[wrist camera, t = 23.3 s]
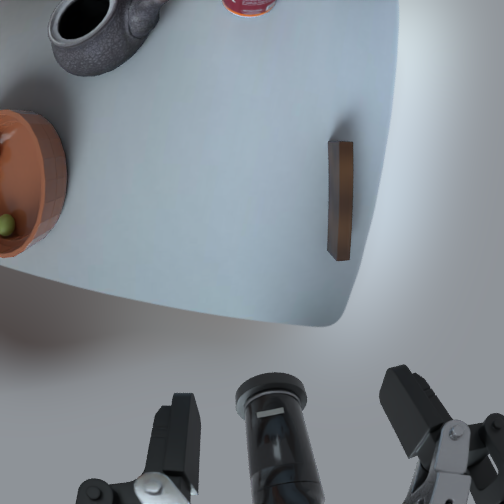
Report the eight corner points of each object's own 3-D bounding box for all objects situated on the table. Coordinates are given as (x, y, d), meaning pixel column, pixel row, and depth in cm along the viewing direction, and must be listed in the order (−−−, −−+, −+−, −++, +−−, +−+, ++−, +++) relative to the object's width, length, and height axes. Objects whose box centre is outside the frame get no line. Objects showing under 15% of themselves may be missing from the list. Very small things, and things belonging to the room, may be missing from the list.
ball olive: (5, 216, 29) (-4, 209, 26) (20, 219, 30) (12, 212, 27) (0, 236, 28) (-9, 231, 26) (15, 240, 29) (6, 235, 26)
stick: (327, 141, 30) (339, 141, 27) (340, 141, 30) (353, 141, 27) (327, 250, 35) (336, 261, 31) (339, 249, 35) (349, 260, 31)
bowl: (79, 237, 31) (58, 252, 26) (-7, 248, 30) (-28, 261, 25) (65, 94, 25) (41, 88, 20) (-22, 132, 24) (-46, 135, 19)
